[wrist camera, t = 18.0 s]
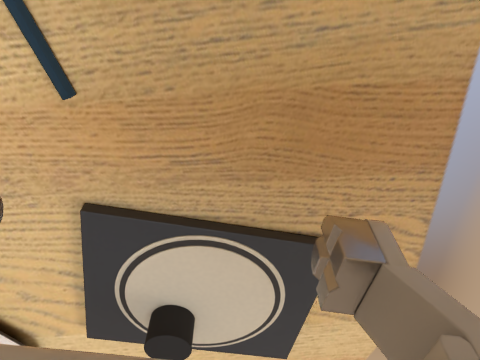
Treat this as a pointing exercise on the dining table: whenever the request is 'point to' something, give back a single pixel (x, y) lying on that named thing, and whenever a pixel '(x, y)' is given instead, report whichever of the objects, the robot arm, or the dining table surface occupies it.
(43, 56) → the pencil
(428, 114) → the dining table surface
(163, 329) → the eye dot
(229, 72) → the dining table surface
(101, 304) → the board
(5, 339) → the plate
